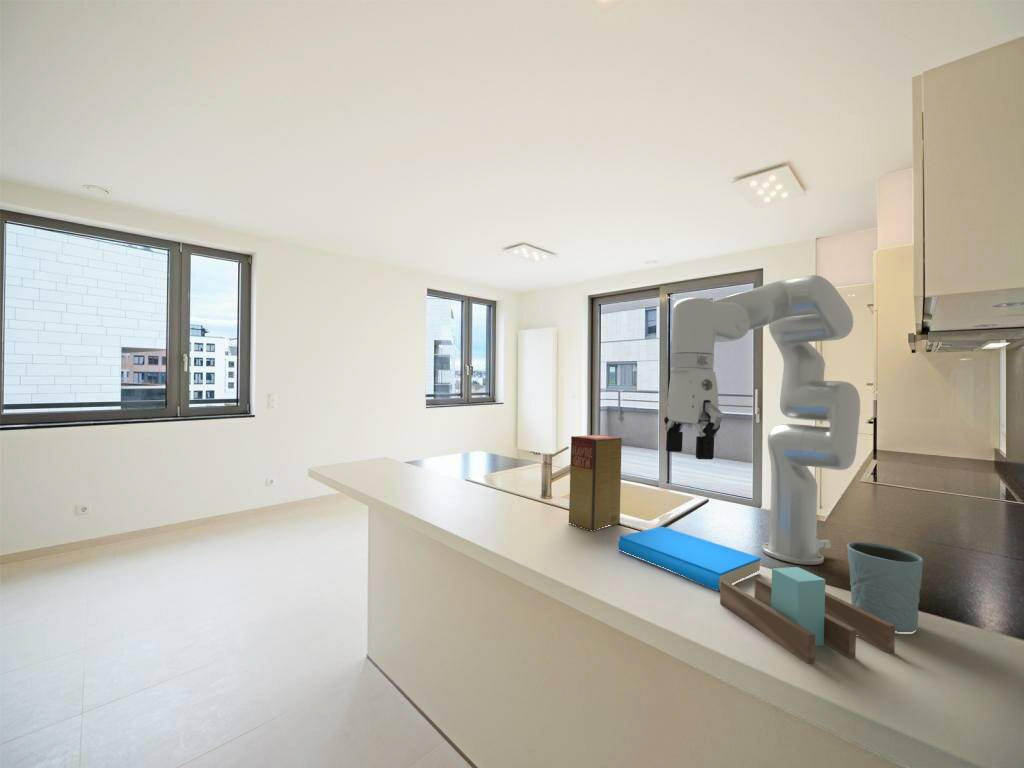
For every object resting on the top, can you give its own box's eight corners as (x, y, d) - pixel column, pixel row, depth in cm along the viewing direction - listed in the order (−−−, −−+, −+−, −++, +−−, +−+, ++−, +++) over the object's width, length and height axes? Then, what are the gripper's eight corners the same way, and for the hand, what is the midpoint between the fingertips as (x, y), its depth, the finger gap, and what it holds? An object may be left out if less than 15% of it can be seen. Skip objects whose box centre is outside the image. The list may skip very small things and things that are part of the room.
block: (795, 628, 73) (797, 566, 73) (823, 645, 68) (825, 579, 68) (770, 630, 72) (772, 568, 72) (796, 648, 67) (798, 581, 67)
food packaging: (595, 516, 136) (598, 434, 136) (621, 523, 129) (624, 437, 129) (566, 523, 127) (569, 435, 127) (593, 532, 120) (596, 439, 120)
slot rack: (792, 597, 84) (793, 576, 84) (894, 652, 67) (895, 625, 67) (720, 603, 81) (720, 581, 81) (807, 663, 63) (808, 635, 63)
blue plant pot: (900, 642, 70) (902, 565, 70) (832, 611, 79) (833, 544, 79) (934, 630, 74) (936, 558, 74) (866, 603, 83) (867, 538, 83)
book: (660, 526, 116) (761, 555, 96) (660, 543, 116) (761, 575, 95) (617, 536, 105) (719, 572, 85) (617, 555, 105) (719, 594, 85)
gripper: (741, 363, 76) (737, 462, 76) (683, 368, 93) (680, 449, 93) (702, 360, 75) (698, 462, 75) (650, 365, 92) (647, 448, 92)
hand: (688, 455), depth 84 cm, fingers open, 9 cm apart
